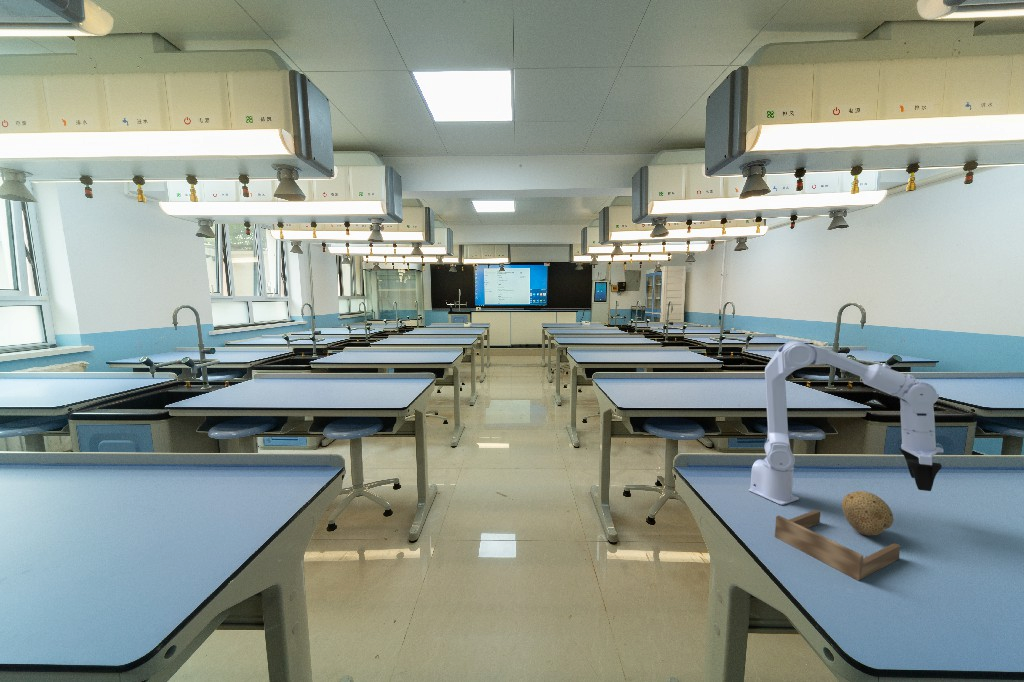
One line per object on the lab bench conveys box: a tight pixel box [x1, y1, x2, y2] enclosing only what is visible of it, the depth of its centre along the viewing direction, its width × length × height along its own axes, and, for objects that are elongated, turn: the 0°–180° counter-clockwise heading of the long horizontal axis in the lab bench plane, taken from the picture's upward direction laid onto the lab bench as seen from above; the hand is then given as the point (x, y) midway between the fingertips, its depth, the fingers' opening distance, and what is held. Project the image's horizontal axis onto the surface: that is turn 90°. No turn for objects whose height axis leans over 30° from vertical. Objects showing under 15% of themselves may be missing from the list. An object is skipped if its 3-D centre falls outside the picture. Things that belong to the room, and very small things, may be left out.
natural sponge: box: [841, 490, 894, 536], centre depth 92 cm, size 9×9×10 cm
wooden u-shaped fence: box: [774, 509, 901, 582], centre depth 87 cm, size 16×16×5 cm
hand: (920, 483), depth 95 cm, fingers open, 7 cm apart
